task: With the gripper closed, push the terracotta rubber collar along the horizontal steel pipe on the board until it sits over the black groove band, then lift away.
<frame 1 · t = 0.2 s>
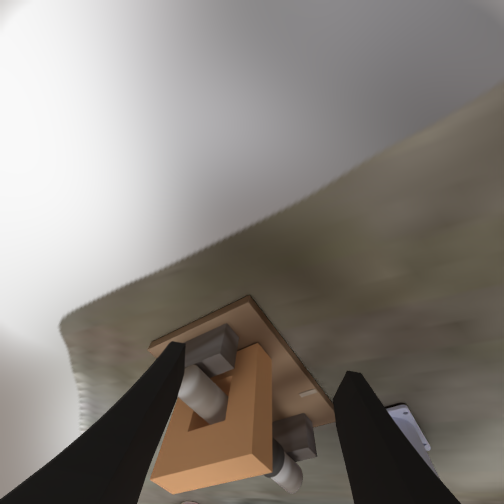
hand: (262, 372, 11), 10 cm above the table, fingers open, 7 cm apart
pipe rig: (250, 378, 27), on the table
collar: (219, 410, 20), point 5 cm above the table, slide at 0.0 cm
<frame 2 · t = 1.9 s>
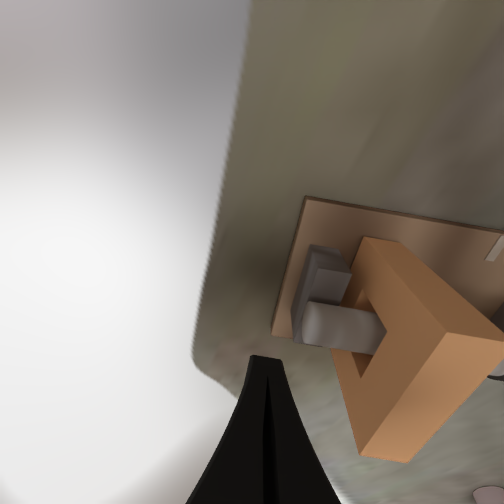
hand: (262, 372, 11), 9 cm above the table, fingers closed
pipe rig: (403, 291, 19), on the table
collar: (382, 334, 14), point 6 cm above the table, slide at 0.0 cm
smoothie: (487, 490, 32), on the table
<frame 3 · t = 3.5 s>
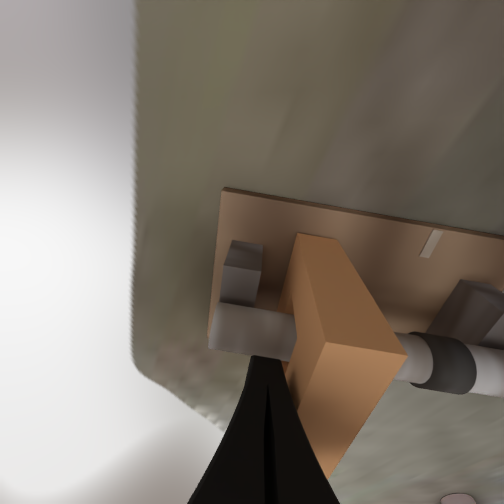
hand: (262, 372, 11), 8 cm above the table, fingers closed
pipe rig: (342, 290, 18), on the table
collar: (308, 340, 13), point 6 cm above the table, slide at 0.7 cm, touching gripper
smoothie: (455, 498, 31), on the table
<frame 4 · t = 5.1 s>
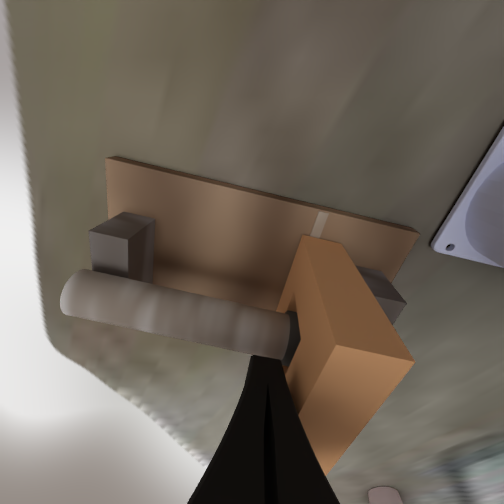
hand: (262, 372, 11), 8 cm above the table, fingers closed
pipe rig: (246, 272, 18), on the table
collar: (309, 342, 13), point 6 cm above the table, slide at 7.9 cm, touching gripper
smoothie: (382, 491, 32), on the table
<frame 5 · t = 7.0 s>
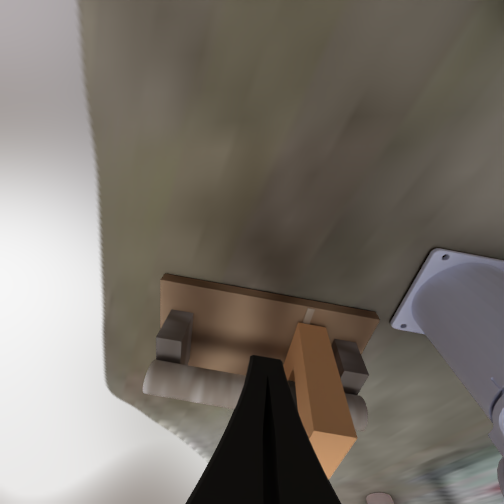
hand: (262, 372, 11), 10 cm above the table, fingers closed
pipe rig: (258, 341, 24), on the table
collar: (305, 403, 19), point 5 cm above the table, slide at 8.0 cm
smoothie: (378, 496, 38), on the table
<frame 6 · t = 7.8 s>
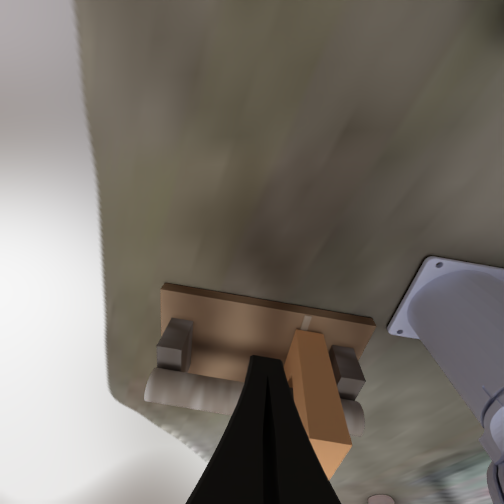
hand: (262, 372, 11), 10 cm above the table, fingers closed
pipe rig: (257, 347, 25), on the table
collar: (303, 409, 20), point 6 cm above the table, slide at 8.0 cm
smoothie: (379, 498, 38), on the table
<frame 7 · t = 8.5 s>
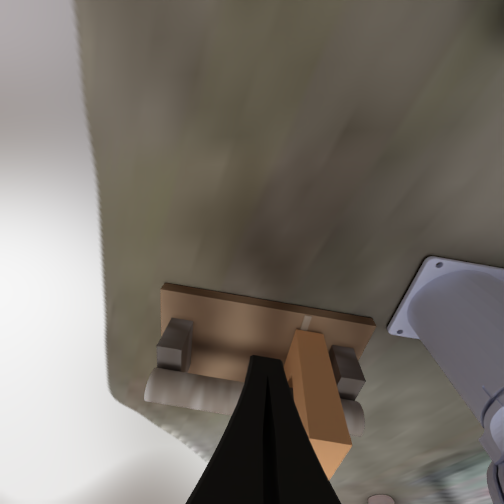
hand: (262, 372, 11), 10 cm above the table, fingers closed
pipe rig: (257, 347, 25), on the table
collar: (303, 409, 20), point 5 cm above the table, slide at 8.0 cm
smoothie: (379, 498, 38), on the table
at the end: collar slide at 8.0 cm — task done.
